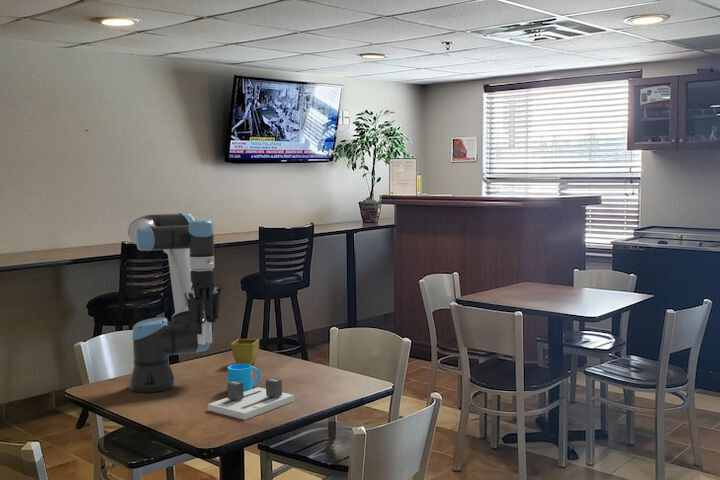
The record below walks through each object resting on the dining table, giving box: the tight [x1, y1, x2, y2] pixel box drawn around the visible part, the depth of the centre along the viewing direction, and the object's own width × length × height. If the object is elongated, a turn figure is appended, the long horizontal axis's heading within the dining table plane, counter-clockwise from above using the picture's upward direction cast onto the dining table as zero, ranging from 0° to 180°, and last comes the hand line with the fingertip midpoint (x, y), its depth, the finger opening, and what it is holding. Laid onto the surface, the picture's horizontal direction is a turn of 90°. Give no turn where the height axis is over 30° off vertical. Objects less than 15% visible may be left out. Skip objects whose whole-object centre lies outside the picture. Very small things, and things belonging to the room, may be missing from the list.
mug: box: [227, 363, 262, 392], centre depth 252 cm, size 12×8×8 cm
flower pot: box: [230, 338, 260, 366], centre depth 286 cm, size 9×9×9 cm
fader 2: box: [265, 377, 283, 398], centre depth 236 cm, size 4×3×5 cm
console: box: [207, 386, 295, 421], centre depth 234 cm, size 16×22×2 cm
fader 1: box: [226, 381, 244, 401], centre depth 234 cm, size 4×3×5 cm
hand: (205, 343), depth 236 cm, fingers open, 2 cm apart
